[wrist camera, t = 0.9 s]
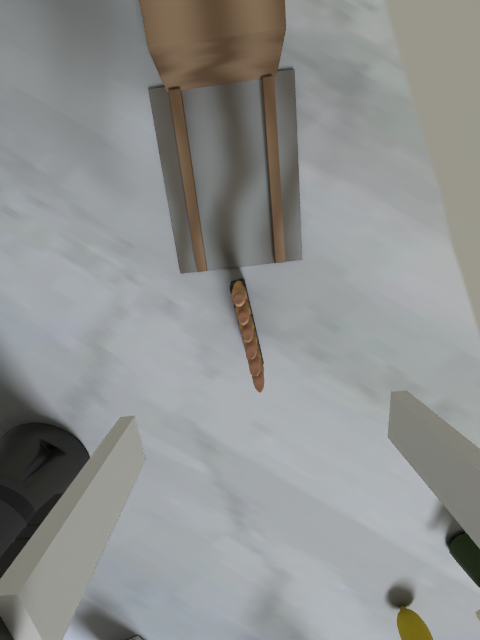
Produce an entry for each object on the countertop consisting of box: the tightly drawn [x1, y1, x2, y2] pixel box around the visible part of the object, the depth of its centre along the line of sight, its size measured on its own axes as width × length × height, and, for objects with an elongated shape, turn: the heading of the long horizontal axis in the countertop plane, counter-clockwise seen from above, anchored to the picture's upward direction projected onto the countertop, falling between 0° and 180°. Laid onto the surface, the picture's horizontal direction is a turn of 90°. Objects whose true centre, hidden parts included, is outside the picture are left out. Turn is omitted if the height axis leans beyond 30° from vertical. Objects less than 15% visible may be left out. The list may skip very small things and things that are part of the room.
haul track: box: [140, 0, 302, 273], centre depth 25 cm, size 16×24×6 cm
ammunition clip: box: [230, 279, 264, 393], centre depth 27 cm, size 11×2×12 cm, turn 13°
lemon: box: [397, 606, 433, 640], centre depth 45 cm, size 6×6×8 cm
